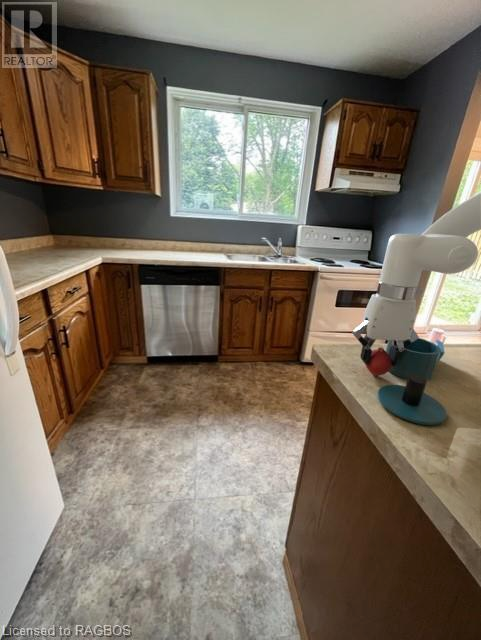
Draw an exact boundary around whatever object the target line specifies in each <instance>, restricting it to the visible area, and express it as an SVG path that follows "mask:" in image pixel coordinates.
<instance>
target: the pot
mask: <svg viewBox="0 0 481 640" xmlns="http://www.w3.org/2000/svg"><path fill="white" fill-rule="evenodd" d="M391 346H393V341H392V340H387V343H386V347H385V351H386V352H387V353H389V349H390V347H391ZM440 353H441V349H440V348H439V347H438V346H437V345H435V342H432V341H429V340H428V339H424V338H420V337H419V338H418V339H417V340H415V341H414V342H411V344H410V345H408V346H407V347H405V348H404V350H403V351H402V352H400V356H399V359H398V361H397V363H396V366H392V365H391V368H390V370H389V371H388V372H389V373H390V374H392V375H394V376H397V377H399V378H401V379H403V380H404V379H405V380H408V376H409V375H417V376H420V377H422V378H424V379H425V380H426V381H427V382H428V381H431V380H432V378H433V376H434V374H435V370H436V368H437V365H438V363H439V362H438V359H439V356H440ZM437 362H438V363H437Z"/></svg>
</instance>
